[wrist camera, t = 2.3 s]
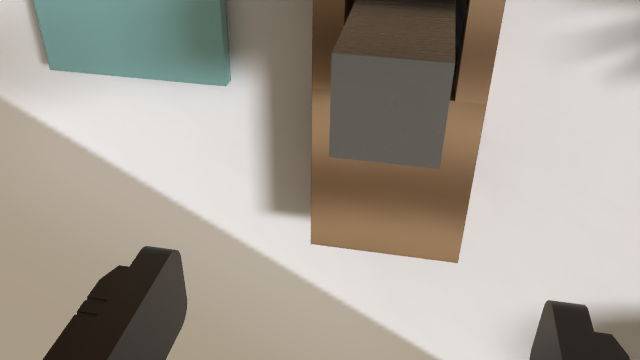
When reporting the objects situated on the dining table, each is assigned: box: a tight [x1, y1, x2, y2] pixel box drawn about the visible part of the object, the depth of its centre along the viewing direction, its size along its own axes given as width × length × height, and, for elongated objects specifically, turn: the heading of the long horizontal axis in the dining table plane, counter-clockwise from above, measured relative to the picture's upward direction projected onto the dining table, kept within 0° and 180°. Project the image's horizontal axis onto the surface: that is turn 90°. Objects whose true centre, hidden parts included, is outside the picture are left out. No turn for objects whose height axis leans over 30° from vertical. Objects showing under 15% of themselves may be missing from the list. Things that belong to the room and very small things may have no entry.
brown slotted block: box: [311, 0, 506, 263], centre depth 28 cm, size 24×8×3 cm, turn 179°
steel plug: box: [329, 0, 455, 169], centre depth 25 cm, size 4×4×10 cm
